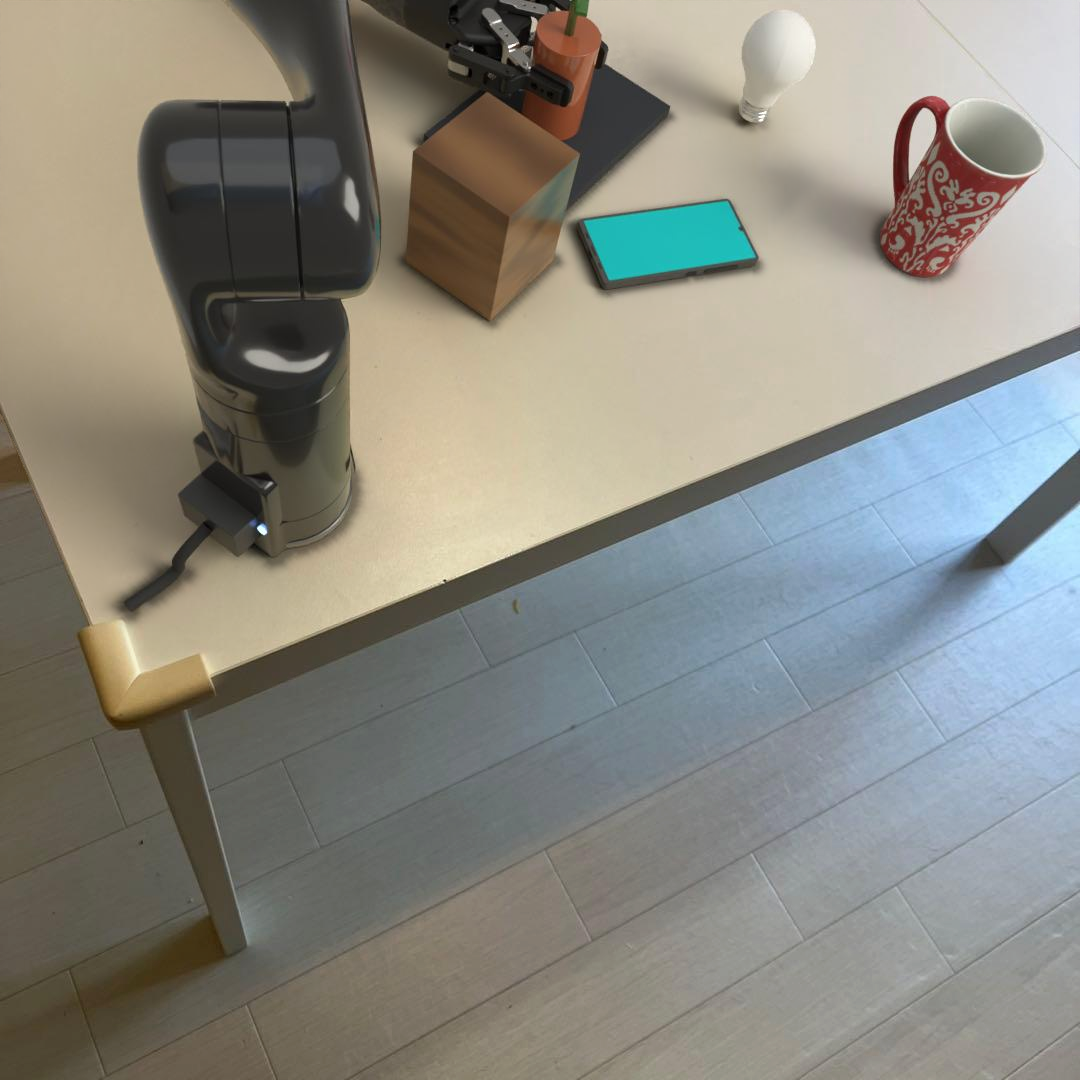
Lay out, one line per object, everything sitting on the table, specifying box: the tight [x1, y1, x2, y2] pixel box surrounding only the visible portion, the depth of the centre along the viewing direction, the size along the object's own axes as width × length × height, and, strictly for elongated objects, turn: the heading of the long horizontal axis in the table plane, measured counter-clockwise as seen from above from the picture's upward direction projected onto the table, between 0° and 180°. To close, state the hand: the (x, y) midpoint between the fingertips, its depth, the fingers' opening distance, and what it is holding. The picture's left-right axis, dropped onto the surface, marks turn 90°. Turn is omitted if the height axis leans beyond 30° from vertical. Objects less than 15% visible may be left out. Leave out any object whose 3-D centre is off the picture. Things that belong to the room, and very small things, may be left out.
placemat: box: [422, 48, 671, 213], centre depth 94 cm, size 20×14×1 cm
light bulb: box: [738, 9, 817, 124], centre depth 95 cm, size 7×7×11 cm
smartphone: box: [576, 198, 759, 290], centre depth 90 cm, size 7×1×15 cm
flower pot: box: [521, 0, 602, 141], centre depth 85 cm, size 6×6×20 cm
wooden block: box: [405, 92, 580, 322], centre depth 81 cm, size 9×9×12 cm
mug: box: [879, 95, 1047, 278], centre depth 91 cm, size 13×9×14 cm
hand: (587, 76), depth 88 cm, fingers closed on flower pot, 5 cm apart
